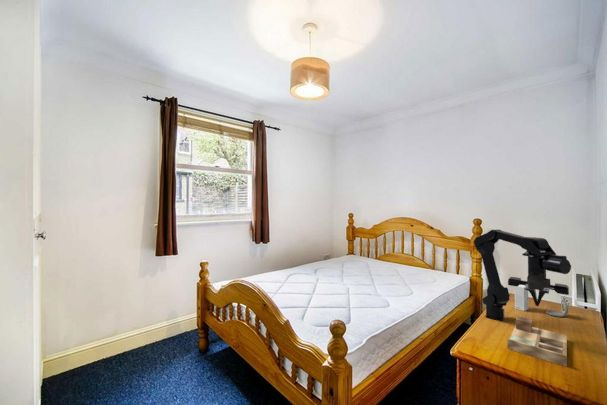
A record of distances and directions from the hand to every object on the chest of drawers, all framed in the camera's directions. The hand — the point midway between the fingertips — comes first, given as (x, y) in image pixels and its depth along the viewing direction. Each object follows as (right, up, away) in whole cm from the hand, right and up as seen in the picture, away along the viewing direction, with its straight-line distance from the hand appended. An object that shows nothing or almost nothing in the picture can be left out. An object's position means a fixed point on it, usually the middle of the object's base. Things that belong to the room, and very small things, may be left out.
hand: (537, 305), depth 111 cm
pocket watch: (+30, -13, +22) cm, 39 cm away
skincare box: (+18, -14, +30) cm, 38 cm away
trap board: (-5, -13, -6) cm, 15 cm away
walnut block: (-3, -11, +3) cm, 12 cm away
